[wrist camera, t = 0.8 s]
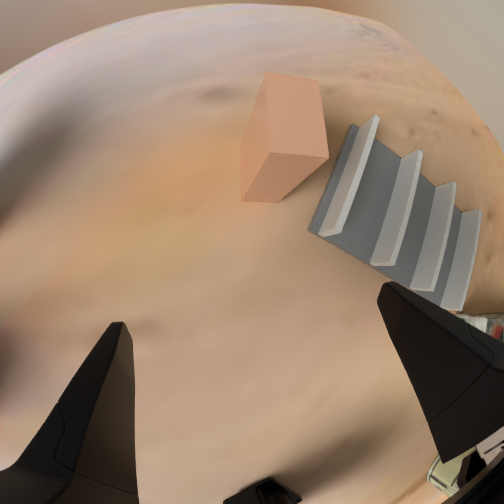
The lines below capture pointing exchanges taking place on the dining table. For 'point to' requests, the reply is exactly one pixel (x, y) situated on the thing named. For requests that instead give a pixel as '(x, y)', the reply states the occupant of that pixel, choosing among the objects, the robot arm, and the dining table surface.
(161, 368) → the dining table surface
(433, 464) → the coffee can
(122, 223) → the dining table surface
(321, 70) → the dining table surface
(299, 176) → the salmon rectangular block
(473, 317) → the juice carton
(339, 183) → the rack
